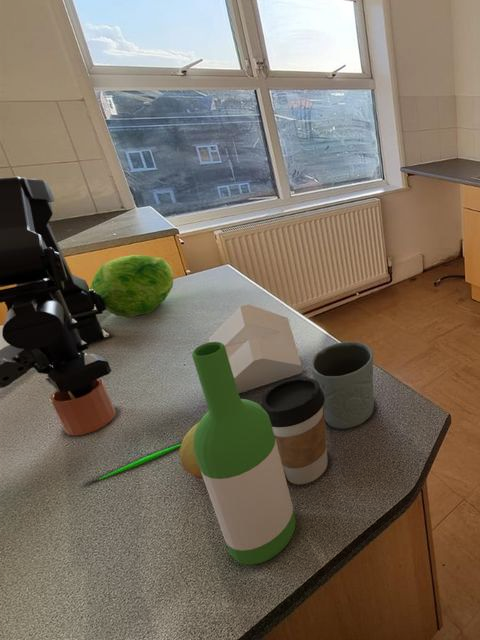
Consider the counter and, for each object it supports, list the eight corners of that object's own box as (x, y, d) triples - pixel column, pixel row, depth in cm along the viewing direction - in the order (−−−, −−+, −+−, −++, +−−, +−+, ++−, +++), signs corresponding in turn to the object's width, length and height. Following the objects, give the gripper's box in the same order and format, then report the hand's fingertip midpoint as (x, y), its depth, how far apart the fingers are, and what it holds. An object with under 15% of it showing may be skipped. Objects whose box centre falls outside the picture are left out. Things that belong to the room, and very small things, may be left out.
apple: (274, 448, 71) (264, 410, 68) (219, 498, 62) (205, 457, 59) (229, 433, 74) (218, 395, 71) (171, 478, 65) (155, 438, 62)
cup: (59, 426, 74) (43, 393, 72) (106, 403, 80) (93, 372, 77) (74, 441, 71) (58, 408, 69) (122, 416, 77) (109, 385, 74)
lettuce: (106, 295, 116) (179, 289, 125) (85, 334, 98) (172, 324, 107) (97, 244, 112) (173, 241, 120) (74, 276, 94) (165, 270, 102)
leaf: (91, 483, 65) (89, 479, 64) (202, 436, 73) (201, 432, 73) (91, 487, 64) (89, 483, 64) (203, 439, 73) (202, 436, 72)
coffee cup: (315, 497, 63) (297, 416, 57) (264, 486, 64) (242, 406, 58) (346, 452, 70) (334, 377, 65) (300, 443, 72) (284, 369, 66)
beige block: (226, 404, 85) (210, 373, 71) (215, 354, 89) (198, 315, 75) (302, 379, 92) (300, 346, 78) (289, 334, 96) (285, 295, 83)
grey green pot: (341, 389, 84) (333, 337, 80) (389, 397, 82) (383, 345, 78) (309, 427, 75) (297, 371, 70) (361, 437, 73) (353, 380, 69)
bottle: (217, 569, 53) (142, 371, 42) (252, 511, 60) (196, 328, 49) (280, 569, 53) (222, 372, 42) (307, 511, 61) (264, 329, 49)
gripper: (-50, 326, 65) (-5, 407, 71) (-13, 366, 57) (35, 454, 63) (49, 297, 74) (82, 371, 80) (95, 328, 66) (128, 408, 72)
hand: (81, 399), depth 74 cm, fingers closed on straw, 2 cm apart
